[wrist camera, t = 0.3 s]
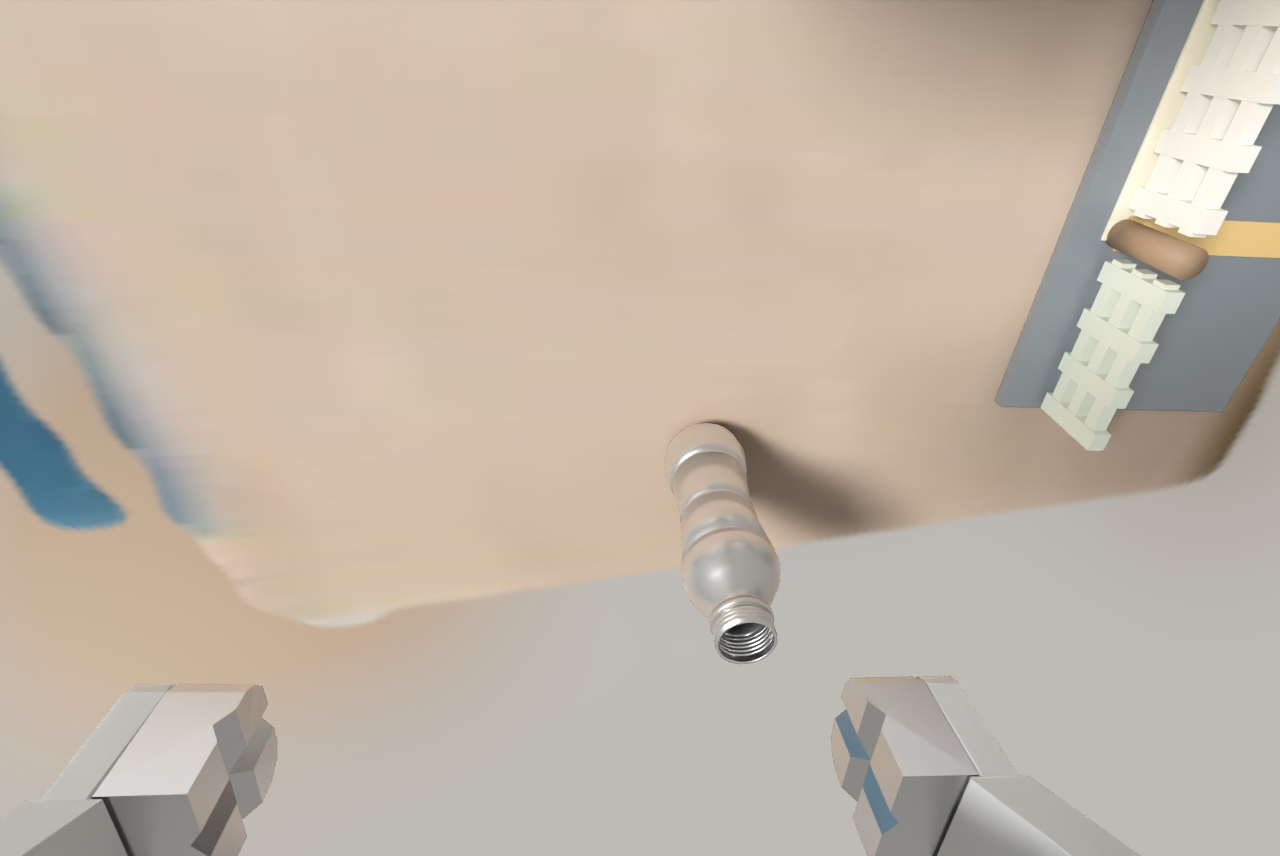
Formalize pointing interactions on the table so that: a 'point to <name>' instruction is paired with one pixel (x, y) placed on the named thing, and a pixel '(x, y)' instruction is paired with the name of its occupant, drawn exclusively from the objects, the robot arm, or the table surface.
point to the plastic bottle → (723, 542)
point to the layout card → (1238, 254)
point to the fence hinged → (1110, 350)
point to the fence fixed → (1207, 140)
